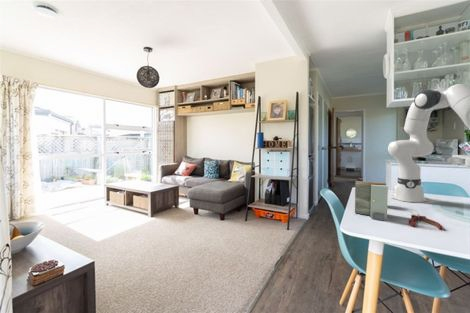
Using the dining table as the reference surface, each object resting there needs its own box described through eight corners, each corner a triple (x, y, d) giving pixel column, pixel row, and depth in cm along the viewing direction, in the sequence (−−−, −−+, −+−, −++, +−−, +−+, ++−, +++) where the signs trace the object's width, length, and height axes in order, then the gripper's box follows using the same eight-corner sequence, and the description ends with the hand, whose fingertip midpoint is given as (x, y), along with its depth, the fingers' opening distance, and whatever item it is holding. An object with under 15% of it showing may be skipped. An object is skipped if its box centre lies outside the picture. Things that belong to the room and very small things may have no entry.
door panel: (370, 216, 115) (371, 184, 114) (386, 218, 112) (387, 185, 111) (370, 218, 113) (371, 185, 112) (387, 220, 109) (388, 186, 108)
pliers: (427, 216, 114) (427, 211, 114) (444, 231, 96) (444, 225, 96) (400, 214, 119) (400, 209, 119) (411, 228, 101) (411, 222, 101)
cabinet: (355, 210, 126) (355, 180, 125) (384, 213, 119) (385, 182, 118) (354, 214, 120) (355, 183, 118) (385, 218, 113) (386, 185, 111)
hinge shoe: (372, 215, 116) (372, 210, 116) (383, 217, 114) (383, 211, 114) (372, 219, 112) (372, 213, 112) (384, 220, 109) (384, 214, 109)
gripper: (478, 152, 104) (439, 152, 111) (501, 155, 86) (453, 154, 93) (477, 165, 105) (438, 164, 111) (500, 170, 87) (452, 169, 94)
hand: (445, 160), depth 102 cm, fingers open, 4 cm apart
